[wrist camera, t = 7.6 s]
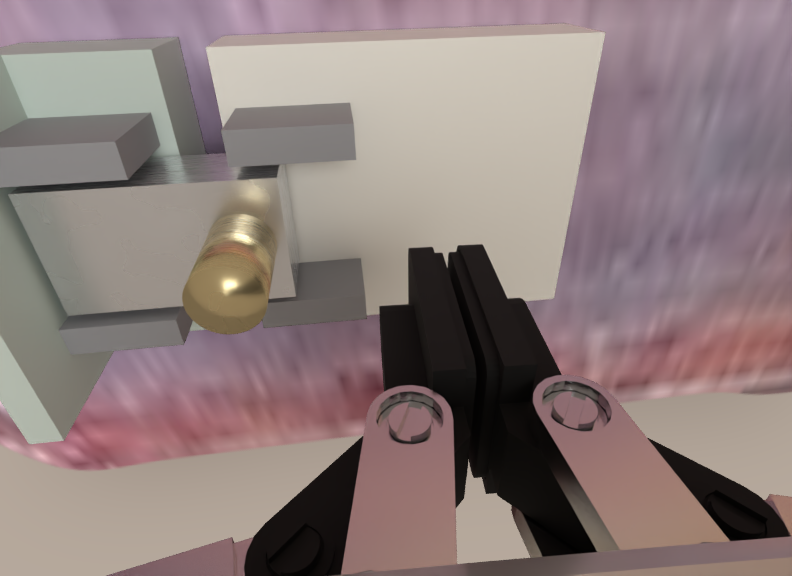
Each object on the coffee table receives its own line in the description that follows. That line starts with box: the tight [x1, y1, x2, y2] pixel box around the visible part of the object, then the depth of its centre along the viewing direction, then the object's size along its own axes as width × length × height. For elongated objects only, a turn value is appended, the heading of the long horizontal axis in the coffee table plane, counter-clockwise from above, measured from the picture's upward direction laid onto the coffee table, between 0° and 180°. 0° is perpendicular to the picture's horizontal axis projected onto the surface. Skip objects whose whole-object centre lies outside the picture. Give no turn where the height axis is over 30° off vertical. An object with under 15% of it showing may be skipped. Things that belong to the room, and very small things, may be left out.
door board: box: [206, 23, 605, 328], centre depth 17 cm, size 12×10×6 cm
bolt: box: [8, 153, 299, 334], centre depth 14 cm, size 7×4×6 cm, turn 91°
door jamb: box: [0, 37, 207, 444], centre depth 15 cm, size 5×10×8 cm, turn 1°
